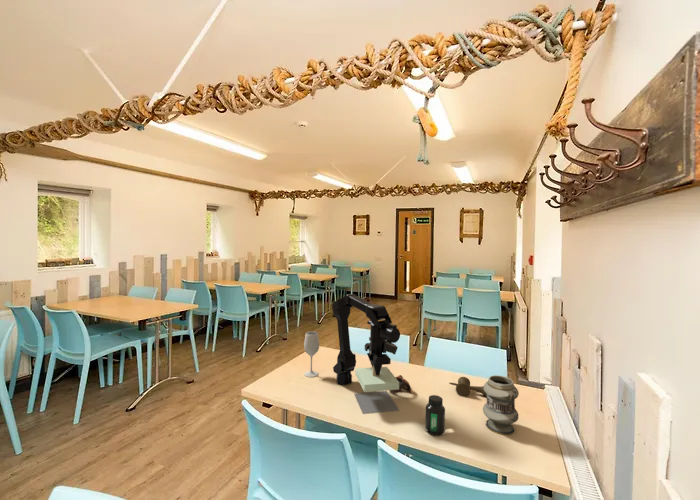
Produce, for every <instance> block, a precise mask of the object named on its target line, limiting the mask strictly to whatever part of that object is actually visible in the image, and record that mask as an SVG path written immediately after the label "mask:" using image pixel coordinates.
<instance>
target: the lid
mask: <svg viewBox="0 0 700 500" xmlns="http://www.w3.org/2000/svg"><path fill="white" fill-rule="evenodd" d="M355 377H356V379H357V381H358V382H359V384H360V386H361V388H362V390H363V393H366V392H379V391H389V390H397V389H399V381H398V380H397V379H396V378H395V377H396V376H395V375H394V374H393V372H392V371H391V370H390V369H389V368H388V367H387V366H382V367H381V370H380V373H379V375H376V373H375V370H374V367H373V368H372V367H361V368H360V367H358V368H355Z"/></svg>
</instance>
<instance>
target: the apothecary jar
mask: <svg viewBox="0 0 700 500" xmlns="http://www.w3.org/2000/svg"><path fill="white" fill-rule="evenodd" d="M483 386H484V391H485V392H486V394H487V395H486V403H484V405H483V407H482V411H483V414H484V416H485V417H486V418H487V419H486V421H485V427H486V428H487V429H488V430H489V431H490V432H493V433H495V434H497V435H503V436H510V435H513V434H514V433H515V431H516V430H515V427H514V426H513V425H512V424H514V423H516V422H518V420H519V413H518V411H517V409H516V405H515V404H516V402H515V401H516V400H515V399H517V398H518V397H519V389H518V388H517V387H516V386H515V384H514V380H513V379H512V378H510V377H507V376H503V375H499V374H498V375H496V374H495V375H494V374H493V375H490V376H489V377H488V380H487V381H486V382H485V383H484V384H483Z"/></svg>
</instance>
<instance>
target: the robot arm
mask: <svg viewBox="0 0 700 500" xmlns="http://www.w3.org/2000/svg"><path fill="white" fill-rule="evenodd" d="M331 305H332V306H331V309H332V315H333V316H334V317H335V319H336V321H337V332H338V344H339V352H338V354H337V358H336V359H337V360H336V364H334V366H333V367H332V369H333V370H332V371H333V372H334V373H335V374H336V384H337V385H339V386H347V385H349V384H350V385H352V383H353V374H352V372H354V371H355V369H356V368H355V367H356V364H357V360H356V359H357V358H356V357H357V355H356V353H353V351H352V350H351V340H350V330H349V317H350V314H351V308H352V307H354V308H356V309H357V310H359V311H361V312H363V313H364V314H365V316H366V317H367V318H368V319H369V320H368V321H367V322H366V324H368V325H370V330H369V331H370V333H369V334H370V335H369V337H368V340H369V342H367V343H365V344H364V351H365V352H367V354H366V355H367V357H368V360H369V362H370V364H371V365H370V366H371V368H373V367H374V370H375V373H376V375H379V373H380V370H381V367H383V365H384V366H385V365H391V362H392V361H391V360H392V359H391V357H390V356H389V355H388V354H387V353H390V354H392V355H396V354H397V351H398V346H397V345H396V343H397V342H398V341H399V339H400V338H401V332H400V330H399V328H398V326H397V324H393V321H392V319H391V317H390V314H389V312H388V310H387V307H386V306H385V305H382V304H377V303H371V302H369V301H367V300H365V299H364V298H361V297H359V296H357V294H354V293H349V294H346V295H344V296H343V297H342V298H339V299H338V300H334V302H333V303H332V304H331Z"/></svg>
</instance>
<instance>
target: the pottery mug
mask: <svg viewBox="0 0 700 500" xmlns="http://www.w3.org/2000/svg"><path fill="white" fill-rule="evenodd" d="M395 378H396V379H397V380H398V381H399V389H397V390H388V391H389V393H391V394H399V393H401V394H402V393H403V389H405V390H409V393H410V394H412V388H411V387H412V386H411V385H410V382H409V381H408V380H407V379H405V378H404V377H403V375H401V374H399V375H398V376H395Z"/></svg>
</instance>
